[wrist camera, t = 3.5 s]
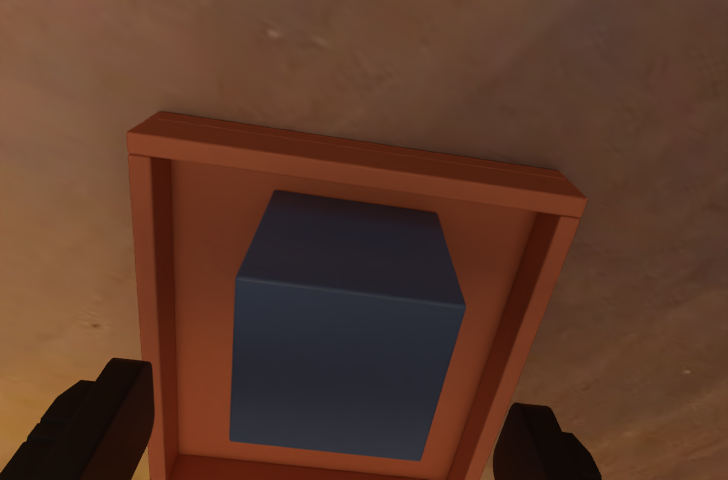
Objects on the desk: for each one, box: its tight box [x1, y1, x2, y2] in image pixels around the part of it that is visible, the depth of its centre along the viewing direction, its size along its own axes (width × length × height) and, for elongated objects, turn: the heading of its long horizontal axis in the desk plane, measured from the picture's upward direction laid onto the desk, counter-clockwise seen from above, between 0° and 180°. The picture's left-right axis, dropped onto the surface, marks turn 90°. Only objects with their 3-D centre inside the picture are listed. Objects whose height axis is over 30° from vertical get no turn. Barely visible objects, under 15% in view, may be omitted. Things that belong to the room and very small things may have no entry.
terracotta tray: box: [127, 112, 588, 480], centre depth 17 cm, size 14×12×2 cm
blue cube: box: [229, 190, 466, 461], centre depth 14 cm, size 5×5×5 cm
